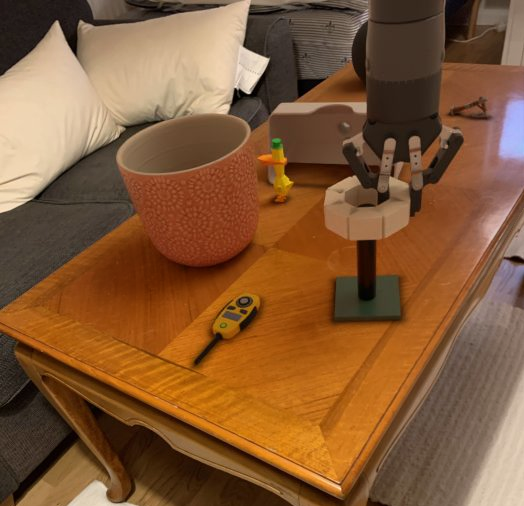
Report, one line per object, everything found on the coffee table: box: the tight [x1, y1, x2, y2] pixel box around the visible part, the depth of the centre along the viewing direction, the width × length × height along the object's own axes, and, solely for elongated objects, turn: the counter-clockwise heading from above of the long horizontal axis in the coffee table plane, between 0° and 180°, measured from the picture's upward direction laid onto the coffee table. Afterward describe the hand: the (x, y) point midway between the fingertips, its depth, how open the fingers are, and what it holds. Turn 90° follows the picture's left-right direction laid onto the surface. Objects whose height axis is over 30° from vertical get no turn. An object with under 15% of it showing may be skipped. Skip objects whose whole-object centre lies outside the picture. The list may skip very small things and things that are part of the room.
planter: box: [115, 112, 260, 268], centre depth 85 cm, size 21×21×19 cm
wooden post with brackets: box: [449, 95, 490, 119], centre depth 110 cm, size 2×8×4 cm, turn 50°
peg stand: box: [333, 203, 402, 322], centre depth 70 cm, size 9×9×15 cm
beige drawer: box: [267, 101, 405, 185], centre depth 100 cm, size 25×16×12 cm, turn 68°
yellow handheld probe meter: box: [193, 292, 261, 365], centre depth 74 cm, size 5×2×15 cm
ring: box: [323, 175, 410, 241], centre depth 64 cm, size 11×11×3 cm
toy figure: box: [256, 138, 295, 203], centre depth 95 cm, size 7×4×12 cm, turn 64°
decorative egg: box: [350, 19, 368, 84], centre depth 127 cm, size 12×12×15 cm
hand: (398, 213), depth 64 cm, fingers closed on ring, 2 cm apart
